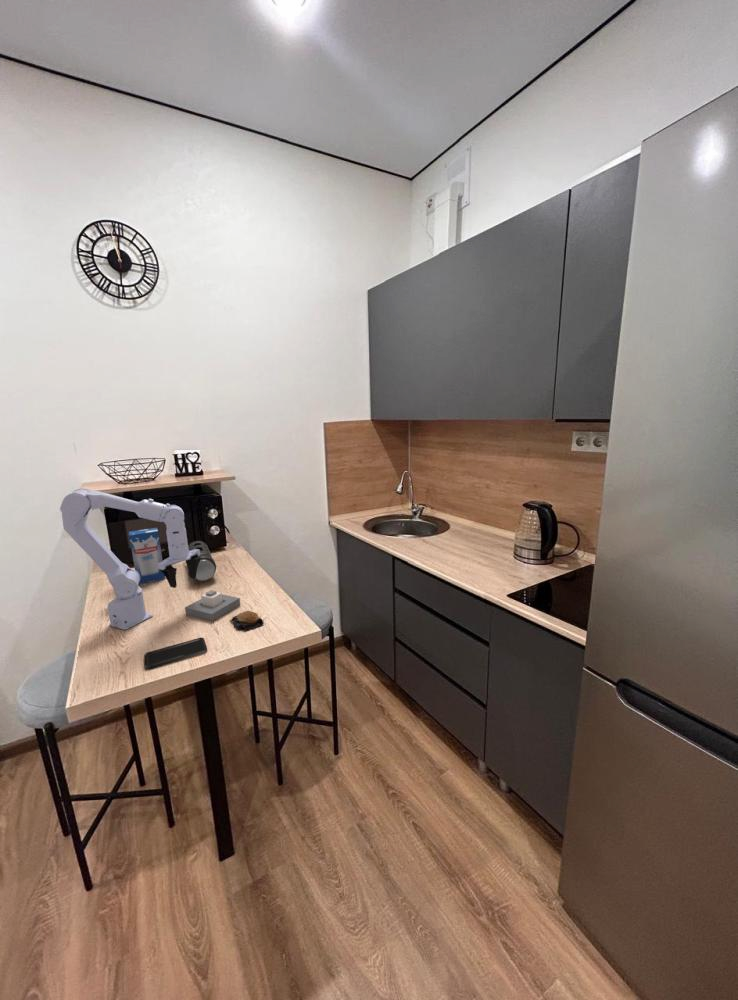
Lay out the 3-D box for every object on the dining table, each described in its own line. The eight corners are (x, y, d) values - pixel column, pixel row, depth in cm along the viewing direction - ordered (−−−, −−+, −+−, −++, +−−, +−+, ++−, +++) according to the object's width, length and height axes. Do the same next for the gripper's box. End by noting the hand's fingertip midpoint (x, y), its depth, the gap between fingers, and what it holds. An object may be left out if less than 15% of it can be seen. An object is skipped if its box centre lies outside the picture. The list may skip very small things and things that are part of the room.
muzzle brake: (210, 560, 181) (207, 538, 179) (218, 581, 157) (215, 556, 154) (187, 564, 177) (184, 542, 175) (192, 587, 152) (188, 561, 150)
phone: (144, 653, 108) (203, 636, 115) (144, 656, 108) (203, 640, 115) (144, 668, 101) (207, 649, 108) (145, 672, 101) (208, 653, 109)
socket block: (212, 621, 125) (211, 614, 125) (185, 614, 130) (184, 607, 130) (240, 604, 136) (239, 598, 135) (214, 599, 141) (213, 592, 140)
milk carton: (164, 573, 166) (157, 527, 162) (165, 578, 161) (158, 530, 157) (136, 579, 161) (128, 531, 157) (137, 584, 156) (128, 535, 152)
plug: (214, 613, 130) (211, 595, 129) (203, 611, 132) (200, 593, 131) (223, 608, 134) (221, 590, 132) (212, 605, 136) (210, 588, 135)
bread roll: (227, 623, 125) (226, 612, 124) (252, 613, 131) (251, 603, 130) (241, 636, 117) (240, 624, 116) (267, 625, 123) (266, 614, 122)
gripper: (166, 551, 121) (172, 593, 124) (204, 538, 134) (209, 576, 137) (151, 549, 125) (157, 589, 127) (189, 536, 137) (194, 573, 140)
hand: (183, 582), depth 132 cm, fingers open, 7 cm apart
